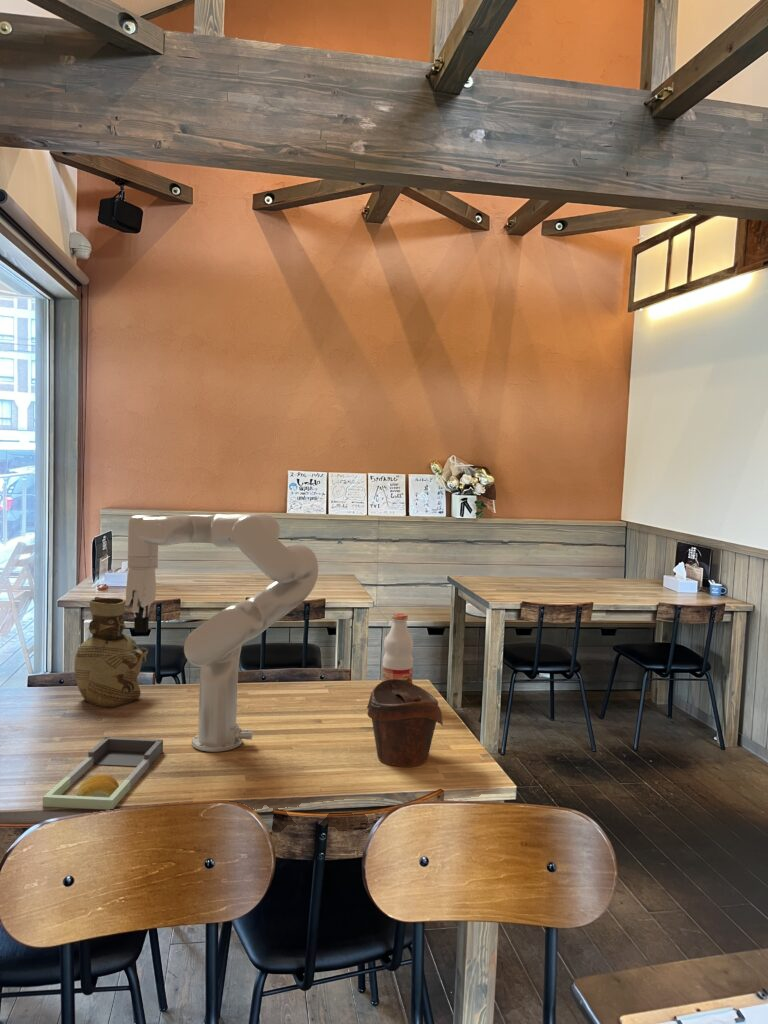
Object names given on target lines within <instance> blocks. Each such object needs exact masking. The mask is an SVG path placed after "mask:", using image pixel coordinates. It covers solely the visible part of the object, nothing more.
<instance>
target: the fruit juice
mask: <svg viewBox="0 0 768 1024" xmlns="http://www.w3.org/2000/svg"><path fill="white" fill-rule="evenodd" d="M408 617H409V616H408V614H406V613H393V614H392V615H391V621H392V623H391V626H390V630H389V632H388V633H387V635H386V636H385V637H384V641H383V648H384V655H383V657H382V667H381V668H382V671H381V673H382V674H381V676H382V677H381V682H383V681H386V680H390V679H398V680H403V681H407V682H410V683H412V684H413V678H414V677H413V674H414V671H413V670H414V658H413V655H412V653H413V652H412V651H413V649H414V640H413V638H412V636H411V634H410V633H409V629H408V624H407V621H408Z"/></svg>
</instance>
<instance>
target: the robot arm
mask: <svg viewBox="0 0 768 1024" xmlns="http://www.w3.org/2000/svg"><path fill="white" fill-rule="evenodd" d="M127 528H128V529H127V530H128V531H127V532H128V533H127V534H128V536H127V537H128V539H127V569H128V572H127V579H126V587H125V588H126V589H125V607H129V608H131V606H132V613H134V614H133V617H134V624H133V626H134V627H133V629H134V633H144V634H145V633H147V632H149V623H150V622H149V619H150V617H149V615H150V607H151V606H152V604H153V603H154V602H155V601H156V595H157V592H156V590H157V586H156V585H157V584H156V583H157V581H156V578H157V577H156V570H157V569H158V566H159V565H158V564H159V561H158V560H159V546H160V547H161V546H162V547H167V546H172V545H174V546H175V545H178V544H179V545H181V544H199V543H200V544H213V546H215V547H217V548H238V549H239V550H240V551H241V552H242V553H243V554H244V555H245V556H246V557H247V558H248V559H249V560H250V561H251V562H252V564H254V565H255V566H256V567H257V568H258V569H259V570H260V571H261V572H262V573H263V574H264V575H265V576H267V578H269V579H270V580H272V583H270V584H269V585H267V586H266V587H264V588H263V589H262V590H261V591H258V593H256V594H254V595H253V596H251V597H250V598H247V599H246V600H242V601H240V602H237V603H234V604H231V605H228V606H227V607H225V608H223V609H222V610H220V611H219V612H218V613H216V614H215V615H213V616H212V617H210V618H209V619H207V620H206V621H204V622H203V623H202V624H201V625H199V626H198V627H196V628H195V629H194V630H192V631H191V632H190V633H189V634H188V636H186V638H185V641H184V644H183V645H184V646H183V653H184V657H185V658H186V660H187V661H188V663H190V664H191V665H192V666H196V667H199V668H200V672H199V689H198V690H199V692H198V694H199V695H198V697H199V698H198V729H197V734H196V735H195V736H193V737H192V738H191V746H192V747H193V748H194V749H196V750H199V751H202V752H211V753H217V752H226V751H230V750H233V749H236V748H238V747H239V746H240V745H242V742H243V740H253V737H254V734H253V733H254V732H253V731H251V729H250V728H245V729H242V728H241V727H240V722H237V714H238V712H237V710H238V709H237V707H238V682H239V681H238V680H239V663H240V658H241V657H240V656H241V651H242V646H243V644H245V643H247V642H248V641H251V640H252V639H254V638H257V637H258V636H260V635H261V634H262V633H264V631H266V630H267V629H268V628H269V627H271V626H272V625H274V624H275V623H277V622H278V621H279V620H281V619H282V618H284V617H285V616H286V615H287V614H288V613H290V612H292V611H293V610H294V609H296V607H297V608H298V606H299V605H301V604H302V603H303V602H304V601H305V600H306V599H307V597H309V595H310V594H311V592H312V591H313V590H314V588H315V585H316V583H317V580H318V575H319V563H318V559H317V556H316V554H315V552H314V551H313V550H312V549H310V548H309V547H308V546H306V545H301V544H293V545H288V546H285V545H284V544H283V542H281V541H280V540H279V538H280V532H281V531H280V530H281V528H280V524H279V523H278V521H277V519H276V518H275V517H273V516H272V515H268V514H266V513H265V514H263V513H215V514H210V515H208V514H207V515H206V514H181V515H179V514H177V515H175V514H174V515H168V516H167V515H165V516H155V515H148V514H146V515H145V514H139V515H138V514H136V515H131V516H130V517H129V519H128V526H127Z"/></svg>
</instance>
